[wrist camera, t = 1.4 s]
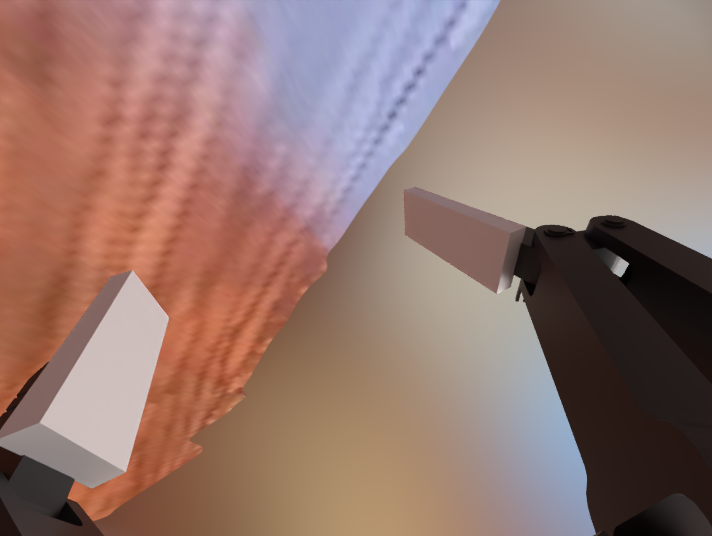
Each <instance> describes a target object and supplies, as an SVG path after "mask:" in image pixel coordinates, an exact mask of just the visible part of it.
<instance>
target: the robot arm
mask: <svg viewBox="0 0 712 536" xmlns="http://www.w3.org/2000/svg"><path fill="white" fill-rule="evenodd" d="M404 211H405V212H404V213H405V235H406V236H408V237H409V238H411V239H413V240H414V241H416V242H417V243H419V244H420V245H422V246H423V247H425V248H426V249H428V250H429V251H431V252H433V253H434V254H436V255H437V256H439V257H440V258H442V259H443V260H445V261H446V262H448V263H450V264H451V265H453V266H454V267H456V268H457V269H459V270H460V271H462V272H464V273H465V274H467V275H468V276H470V277H471V278H473V279H475V280H476V281H477V282H479V283H481V284H482V285H484V286H485V287H487V288H488V289H490V290H492V291H493V292H495V293H496V294H497V293H499V292H501V291H504V290H506V289H508V288H510V287H511V283H512V279H513V276H514V275H515V276H517V277H519V278H521V281H520V284H519V287H518V291H517V295H516V301H519V298H520V297H521V296H522V295H523V298H524V299H523V302H525V303H526V306H527V309H528V312H529V314H530V317H531V320H532V323H533V325H534V328H535V330H536V333H537V336H538V339H539V342H540V345H541V347H542V350H543V353H544V355H545V358H546V361H547V364H548V367H549V369H550V372H551V375H552V377H553V380H554V383H555V386H556V388H557V391H558V394H559V397H560V399H561V402H562V405H563V408H564V411H565V413H566V416H567V419H568V421H569V424H570V427H571V430H572V432H573V435H574V438H575V441H576V443H577V446H578V449H579V452H580V454H581V457H582V460H583V463H584V465H585V469H586V474H587V490H586V495H587V503H588V509H589V512H590V516H591V520H592V523H593V526H594V528H595V531H596V535H594V536H712V259H711V258H709V257H707V256H705V255H703V254H701V253H699V252H697V251H695V250H692V249H690V248H688V247H686V246H684V245H682V244H680V243H678V242H676V241H674V240H672V239H669V238H667V237H665V236H663V235H661V234H659V233H657V232H655V231H652V230H651V229H648V228H646V227H644V226H642V225H640V224H638V223H636V222H634V221H631V220H628V219H625V218H622V217H619V216H612V215H607V216H598V217H593V218H592V219H590V221H589V224H588V226H587V229H586V230H584V231H577V232H576V231H575V230H573V229H572V228H568V227H565V226H560V225H543V226H540V227H537V228H536V229H532V228H529V227H526V226H523V225H520V224H518V223H515V222H512V221H509V220H506V219H504V218H501V217H498V216H496V215H493V214H490V213H487V212H484V211H481V210H478V209H475V208H473V207H470V206H467V205H464V204H462V203H459V202H456V201H453V200H451V199H448V198H445V197H442V196H439V195H437V194H433V193H431V192H428V191H425V190H423V189H420V188H417V187H413V188H410V189H407V190H404ZM621 259H623V260H625V261H627V262H628V263H629V265H628V267H627V269H626V271H625V273H624V274H623V275H622V277H619V276H617V275H616V274H614V272H615V271H616V269H617V267H618V265H619V263H620V261H621ZM168 320H169V317H168V316H167V314H166V313H165V312H164V310H163V309H162V308H161V307H160V305H159V304H158V303H157V301H156V300H155V299H154V297H153V296H152V295H151V294H150V292H149V291H148V290H147V288H146V287H145V286H144V285H143V283H142V282H141V281H140V279H139V278H138V277H137V275H136V274H135V273H134V272H133V270H132V271H128V272H125V273H121V274H118V275H115V276H111V277H110V278H109V280H108V281H107V283H106V284H105V285H104V287H103V288H102V290H101V291H100V292H99V294H98V295H97V296H96V298H95V299H94V301H93V302H92V303H91V305H90V306H89V308H88V309H87V310H86V312H85V313H84V315H83V316H82V317H81V319H80V320H79V321H78V323H77V324H76V326H75V327H74V328H73V330H72V331H71V333H70V334H69V335H68V337H67V338H66V339H65V341H64V342H63V344H62V345H61V346H60V348H59V349H58V351H57V352H56V353H55V355H54V356H53V357H52V359H51V360H50V362H47V363H46V364H45V365H44V366H43V367H42V368H41V369H40V370H39V371H37V372H36V373H35V374H34V375H33V376H32V377H31V378H30V379H29V380H28V381H27V382H26V384H25V385H24V386H23V388H22V389H21V390H20V392H19V393H18V394H17V398H15V399H14V400H13V401H12V402H11V404H10V405H9V406H8V408H7V409H6V410H7V412H5V413H3V414H2V416H1V417H0V536H104V535H103V534H102V533H101V531H100V530H99V529H98V528H97V527H96V525H95V524H94V523H93V521H92V520H91V519H90V518H89V516H88V515H87V514H86V513H85V511H84V510H83V509H82V508H81V506H80V505H79V504H78V503H77V502H75V501H72V500H70V499H68V498H67V497H68V495H69V492H70V490H71V487H72V485H73V483H74V481H76V482H79V483H81V484H83V485H85V486H87V487H89V488H91V489H92V488H94V487H96V486H98V485H100V484H103V483H105V482H107V481H109V480H111V479H113V478H115V477H117V476H119V475H121V474H123V473H125V472H126V470H127V467H128V463H129V459H130V456H131V452H132V449H133V445H134V442H135V438H136V434H137V431H138V427H139V424H140V420H141V417H142V413H143V409H144V406H145V402H146V399H147V395H148V392H149V388H150V384H151V381H152V377H153V374H154V370H155V367H156V363H157V359H158V356H159V352H160V349H161V345H162V342H163V338H164V334H165V331H166V327H167V324H168Z"/></svg>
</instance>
